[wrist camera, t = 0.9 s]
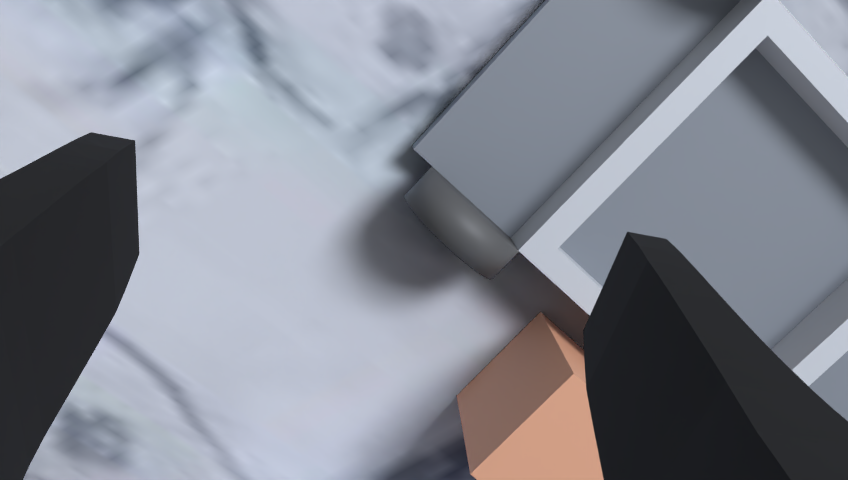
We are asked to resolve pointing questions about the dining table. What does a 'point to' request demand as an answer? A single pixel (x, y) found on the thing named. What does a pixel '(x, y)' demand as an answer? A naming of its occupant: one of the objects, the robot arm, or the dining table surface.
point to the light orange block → (531, 411)
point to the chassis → (660, 162)
